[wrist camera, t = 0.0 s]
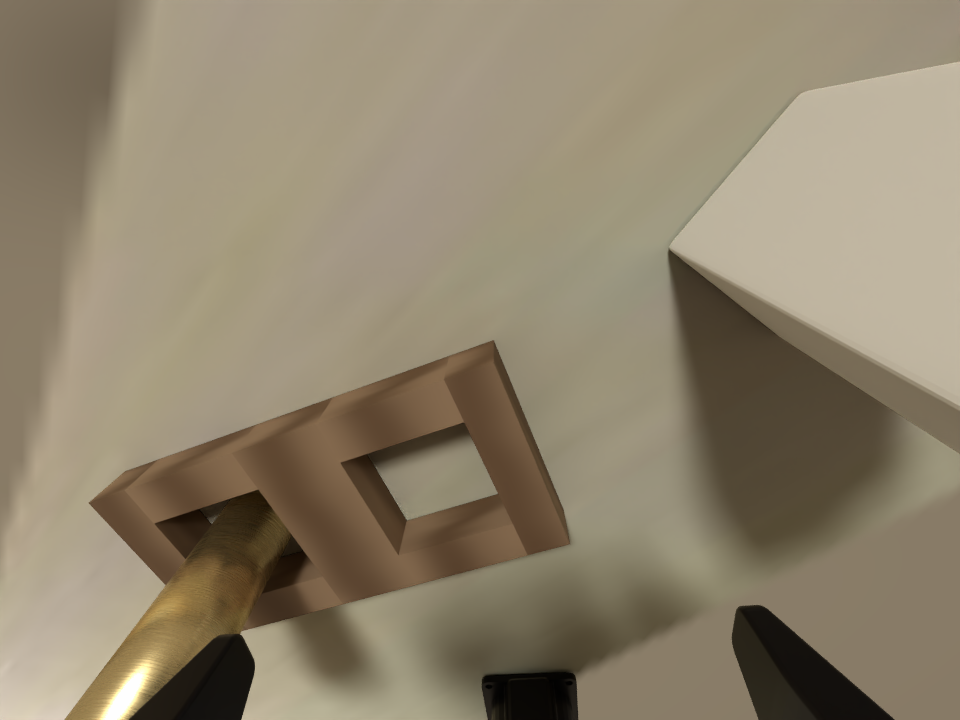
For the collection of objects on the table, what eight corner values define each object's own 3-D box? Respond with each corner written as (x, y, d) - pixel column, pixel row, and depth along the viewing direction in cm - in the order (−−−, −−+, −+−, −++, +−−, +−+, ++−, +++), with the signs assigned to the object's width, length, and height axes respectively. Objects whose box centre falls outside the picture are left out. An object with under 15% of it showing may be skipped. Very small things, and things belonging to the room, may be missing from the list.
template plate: (493, 340, 22) (493, 362, 19) (563, 509, 26) (570, 544, 24) (124, 471, 26) (88, 503, 23) (236, 600, 30) (215, 637, 27)
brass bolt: (315, 545, 28) (171, 862, 15) (235, 550, 28) (32, 865, 16) (291, 478, 26) (103, 783, 13) (206, 485, 26) (-55, 787, 14)
